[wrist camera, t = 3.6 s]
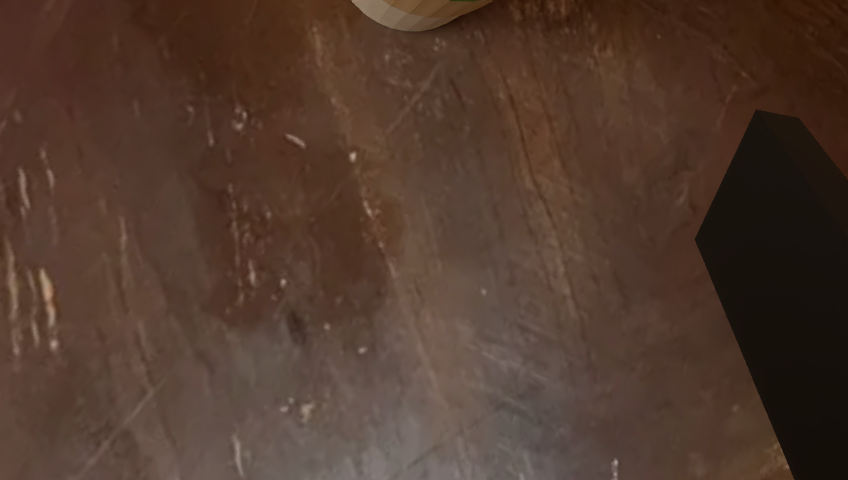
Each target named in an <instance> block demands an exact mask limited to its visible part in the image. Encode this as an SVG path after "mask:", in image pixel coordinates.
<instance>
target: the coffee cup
mask: <svg viewBox="0 0 848 480" xmlns="http://www.w3.org/2000/svg"><path fill="white" fill-rule="evenodd" d="M492 1H493V0H352V2H353V3H354V4H355V5H356V6H357V7H358V8H359V9H360V10H361V11H362V12H363V13H364V14H365V15H367V16H369V17H370V18H372V19H373V20H375V21H376V22H378V23H380V24H382V25H385V26H387V27H389V28H392V29H397V30H402V31H425V30H430V29H434V28H437V27H439V26H441V25H444V24H446V23H448V22H450V21H451V20H453V19H455V18H457V17H458V16H460V15H464V14H467V13H469V12H471V11H474V10H476V9H478V8H481V7H483V6H484V5H486V4H488V3H490V2H492Z"/></svg>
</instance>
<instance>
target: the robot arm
mask: <svg viewBox="0 0 848 480" xmlns="http://www.w3.org/2000/svg"><path fill="white" fill-rule="evenodd" d="M695 241H696V243H697V246H698V248H699V251H700V253H701V255H702V258H703V260H704V263H705V265H706V267H707V270H708V272H709V275H710V277H711V279H712V282H713V284H714V287H715V289H716V292H717V294H718V296H719V299H720V301H721V304H722V306H723V308H724V311H725V313H726V316H727V318H728V320H729V323H730V325H731V328H732V330H733V332H734V335H735V337H736V340H737V342H738V345H739V347H740V349H741V352H742V354H743V357H744V359H745V361H746V364H747V366H748V369H749V371H750V373H751V376H752V378H753V381H754V383H755V385H756V388H757V390H758V393H759V395H760V398H761V400H762V402H763V405H764V407H765V410H766V412H767V414H768V417H769V419H770V422H771V424H772V426H773V429H774V431H775V434H776V436H777V438H778V441H779V443H780V446H781V448H782V451H783V453H784V455H785V458H786V460H787V463H788V465H789V467H790V470H791V472H792V475H793V477H794V479H795V480H848V180H847V179H846V178H845V176H844V175H843V174H842V172H841V171H840V170H839V169H838V167H837V166H836V165H835V164H834V162H833V161H832V160H831V158H830V157H829V156H828V155H827V153H826V152H825V151H824V150H823V148H822V147H821V146H820V145H819V143H818V142H817V141H816V139H815V138H814V137H813V136H812V134H811V133H810V132H809V131H808V129H807V128H806V127H805V125H804V124H803V123H802V122H801V120H800V119H799V118H796V117H791V116H786V115H781V114H776V113H771V112H766V111H761V110H756V111H755V113H754V115H753V117H752V119H751V121H750V123H749V125H748V128H747V130H746V132H745V134H744V136H743V138H742V140H741V142H740V144H739V147H738V149H737V151H736V153H735V155H734V157H733V159H732V161H731V164H730V166H729V168H728V170H727V172H726V174H725V176H724V178H723V180H722V183H721V185H720V187H719V189H718V191H717V193H716V195H715V197H714V200H713V202H712V204H711V206H710V208H709V210H708V212H707V214H706V216H705V219H704V221H703V223H702V225H701V227H700V229H699V231H698V233H697V236H696V238H695Z"/></svg>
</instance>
